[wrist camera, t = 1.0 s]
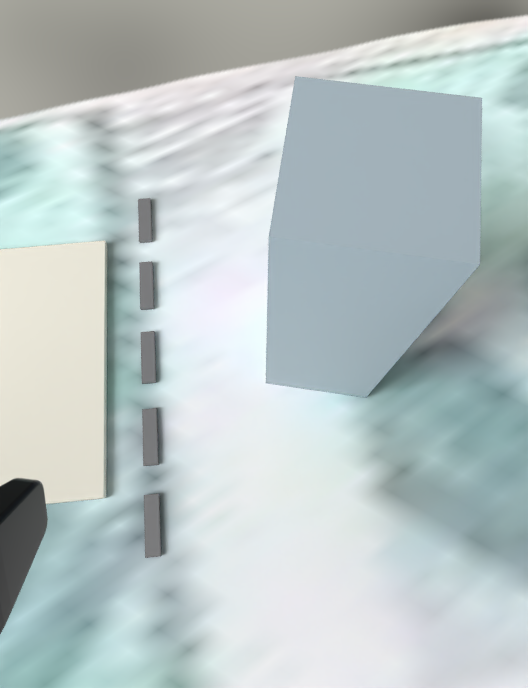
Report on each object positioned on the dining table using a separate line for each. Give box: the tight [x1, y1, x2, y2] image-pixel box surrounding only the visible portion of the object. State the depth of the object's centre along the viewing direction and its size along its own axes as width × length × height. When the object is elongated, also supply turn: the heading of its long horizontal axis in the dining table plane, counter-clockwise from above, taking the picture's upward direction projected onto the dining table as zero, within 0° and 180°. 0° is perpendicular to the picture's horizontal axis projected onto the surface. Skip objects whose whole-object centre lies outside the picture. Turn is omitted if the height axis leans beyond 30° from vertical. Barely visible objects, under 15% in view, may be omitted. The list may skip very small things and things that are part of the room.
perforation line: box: [138, 198, 161, 558], centre depth 23 cm, size 17×1×1 cm, turn 6°
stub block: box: [266, 76, 482, 398], centre depth 17 cm, size 4×4×12 cm
